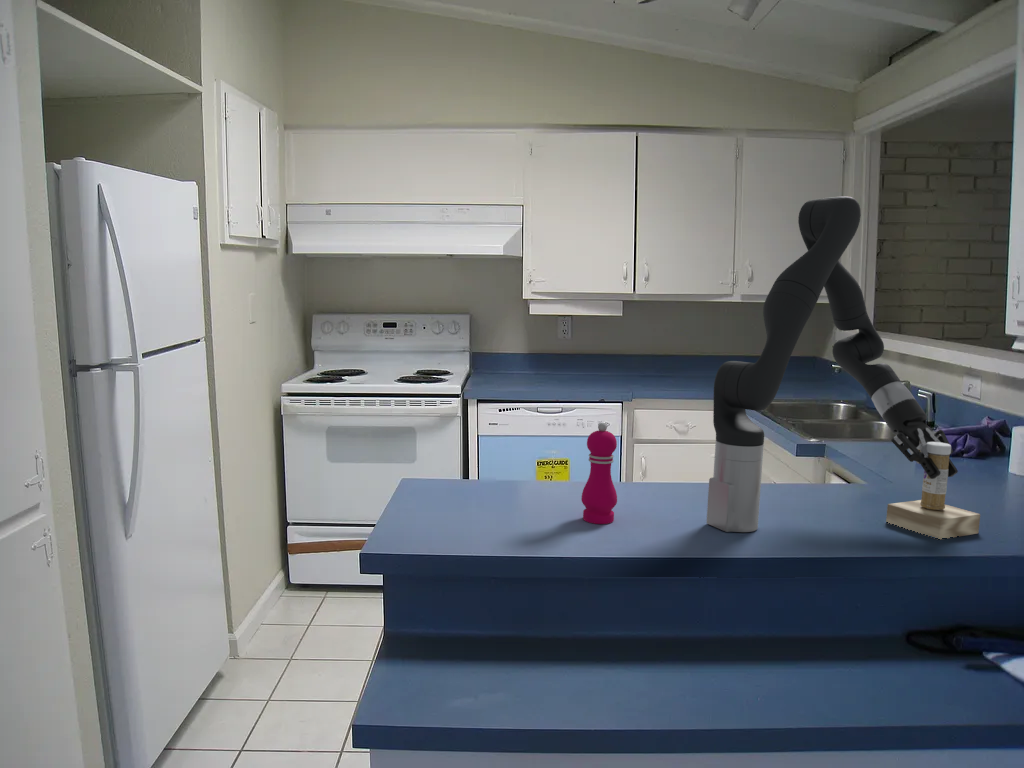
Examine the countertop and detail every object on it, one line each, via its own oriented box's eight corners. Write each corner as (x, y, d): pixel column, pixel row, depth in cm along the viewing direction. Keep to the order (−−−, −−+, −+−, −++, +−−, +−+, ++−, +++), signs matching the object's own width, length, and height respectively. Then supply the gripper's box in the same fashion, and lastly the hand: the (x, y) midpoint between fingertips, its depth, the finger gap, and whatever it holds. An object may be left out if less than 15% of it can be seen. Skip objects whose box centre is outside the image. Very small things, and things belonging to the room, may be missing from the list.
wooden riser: (938, 539, 150) (940, 519, 150) (886, 522, 161) (887, 504, 161) (978, 533, 156) (980, 514, 155) (924, 517, 166) (926, 499, 166)
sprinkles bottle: (915, 504, 160) (921, 441, 159) (936, 504, 161) (942, 441, 159) (929, 510, 156) (935, 445, 154) (950, 510, 156) (956, 445, 154)
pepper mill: (574, 516, 159) (578, 420, 156) (605, 513, 161) (610, 419, 159) (590, 526, 152) (594, 426, 150) (622, 523, 155) (627, 425, 152)
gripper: (886, 398, 159) (934, 468, 150) (933, 396, 165) (982, 463, 156) (863, 419, 164) (908, 488, 155) (908, 416, 171) (954, 482, 161)
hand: (944, 475), depth 155 cm, fingers open, 4 cm apart
